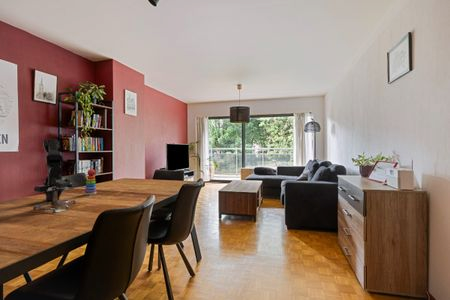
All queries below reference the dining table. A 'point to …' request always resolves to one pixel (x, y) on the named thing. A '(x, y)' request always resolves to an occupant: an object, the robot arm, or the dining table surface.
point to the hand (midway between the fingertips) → (54, 201)
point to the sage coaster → (60, 210)
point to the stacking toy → (90, 183)
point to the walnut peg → (54, 198)
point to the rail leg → (58, 203)
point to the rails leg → (52, 208)
